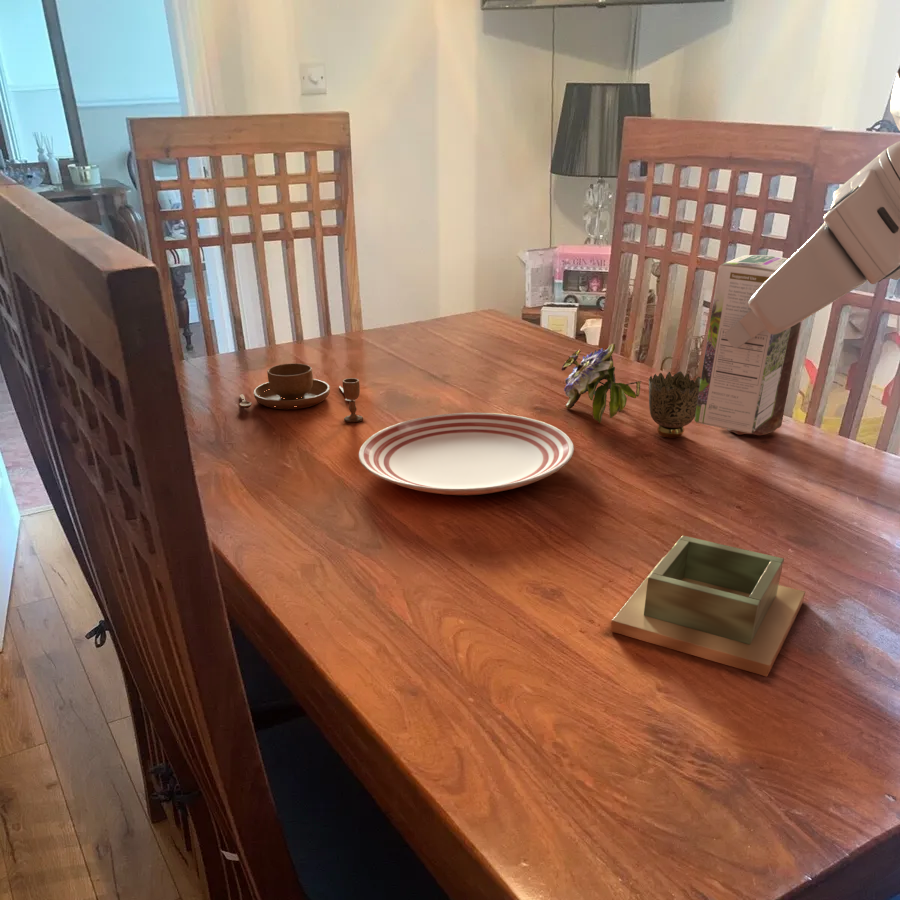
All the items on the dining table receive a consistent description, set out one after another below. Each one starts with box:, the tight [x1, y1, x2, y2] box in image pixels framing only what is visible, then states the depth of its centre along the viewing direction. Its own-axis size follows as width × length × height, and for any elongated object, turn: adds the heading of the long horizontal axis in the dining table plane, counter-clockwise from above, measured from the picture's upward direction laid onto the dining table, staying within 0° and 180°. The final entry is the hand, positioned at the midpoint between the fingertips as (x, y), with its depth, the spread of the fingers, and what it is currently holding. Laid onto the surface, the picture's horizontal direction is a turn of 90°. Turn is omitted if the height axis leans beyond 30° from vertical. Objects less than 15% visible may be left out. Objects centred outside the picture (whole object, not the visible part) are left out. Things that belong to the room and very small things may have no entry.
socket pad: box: [610, 535, 806, 677], centre depth 79 cm, size 14×14×5 cm
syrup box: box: [693, 254, 791, 433], centre depth 79 cm, size 6×6×14 cm
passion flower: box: [560, 343, 642, 424], centre depth 129 cm, size 11×11×12 cm
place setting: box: [239, 362, 364, 423], centre depth 132 cm, size 18×20×6 cm
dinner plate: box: [358, 412, 575, 496], centre depth 111 cm, size 27×27×3 cm
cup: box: [648, 371, 701, 439], centre depth 119 cm, size 8×7×8 cm
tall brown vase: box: [726, 322, 801, 436], centre depth 117 cm, size 8×7×20 cm
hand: (742, 331), depth 78 cm, fingers closed on syrup box, 6 cm apart
